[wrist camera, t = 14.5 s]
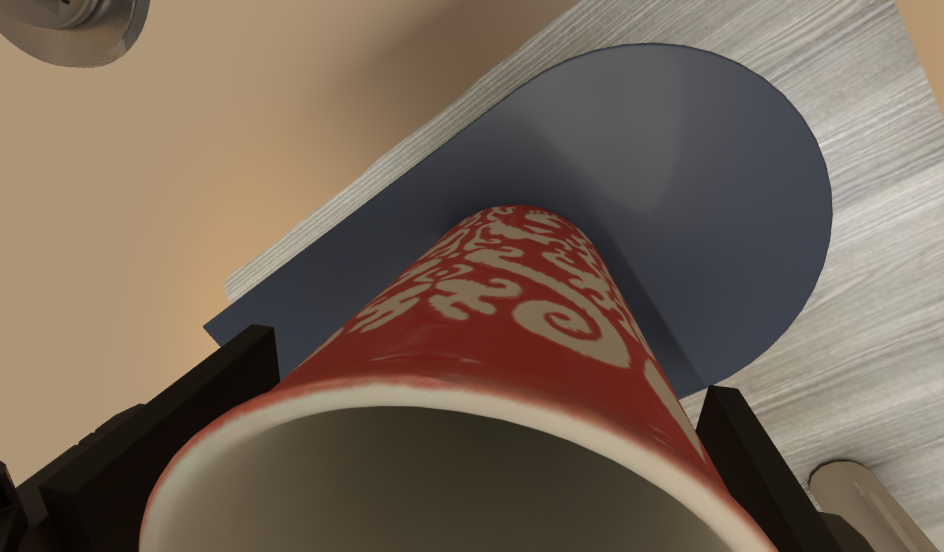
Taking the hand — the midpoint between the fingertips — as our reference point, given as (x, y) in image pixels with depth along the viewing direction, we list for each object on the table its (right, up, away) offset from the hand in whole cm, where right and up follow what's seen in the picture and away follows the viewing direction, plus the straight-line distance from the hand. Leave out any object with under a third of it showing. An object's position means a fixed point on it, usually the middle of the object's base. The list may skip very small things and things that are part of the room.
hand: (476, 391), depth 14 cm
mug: (0, +2, +5) cm, 6 cm away
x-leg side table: (+6, +14, +37) cm, 40 cm away
